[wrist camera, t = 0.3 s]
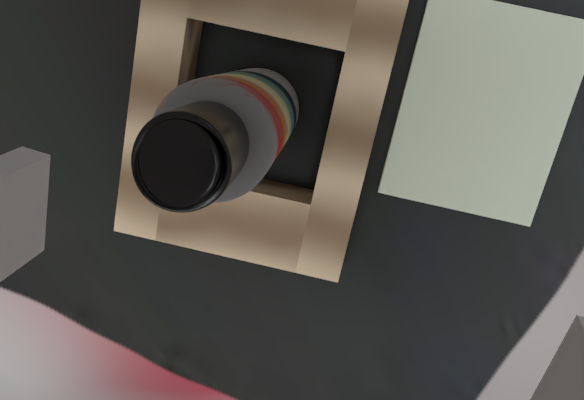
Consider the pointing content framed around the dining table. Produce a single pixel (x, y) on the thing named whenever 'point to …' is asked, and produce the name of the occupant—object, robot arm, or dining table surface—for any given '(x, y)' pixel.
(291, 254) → the holder block
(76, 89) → the dining table surface
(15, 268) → the robot arm
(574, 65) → the sage pad
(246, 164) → the lotion bottle
